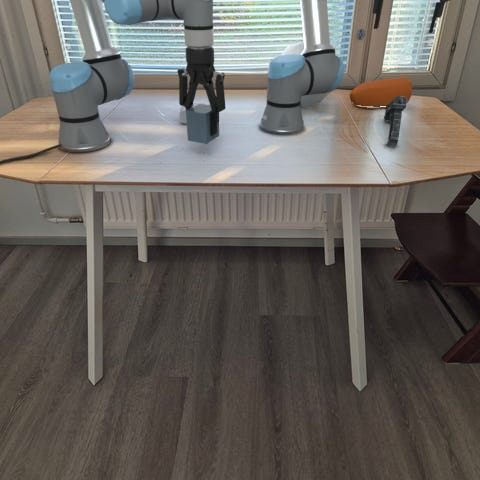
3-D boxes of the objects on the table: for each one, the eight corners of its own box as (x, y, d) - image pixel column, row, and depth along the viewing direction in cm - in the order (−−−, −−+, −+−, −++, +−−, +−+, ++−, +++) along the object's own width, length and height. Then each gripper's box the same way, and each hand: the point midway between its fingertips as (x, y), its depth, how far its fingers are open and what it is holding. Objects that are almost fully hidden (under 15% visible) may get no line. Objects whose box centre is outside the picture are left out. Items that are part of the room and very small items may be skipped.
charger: (207, 110, 158) (206, 123, 146) (183, 110, 158) (180, 123, 146) (206, 98, 156) (205, 110, 143) (182, 98, 155) (179, 110, 143)
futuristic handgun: (389, 146, 153) (397, 104, 149) (399, 145, 125) (409, 94, 122) (379, 144, 154) (386, 103, 150) (386, 144, 126) (395, 93, 122)
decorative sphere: (262, 73, 173) (275, 25, 150) (318, 71, 177) (338, 25, 154) (272, 121, 166) (286, 79, 143) (329, 118, 170) (353, 77, 147)
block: (219, 135, 122) (218, 106, 117) (206, 144, 117) (205, 113, 112) (201, 132, 125) (199, 103, 120) (187, 140, 119) (185, 110, 114)
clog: (353, 116, 162) (414, 107, 163) (355, 88, 156) (419, 80, 157) (344, 107, 172) (401, 99, 173) (345, 80, 165) (405, 72, 166)
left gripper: (239, 47, 106) (238, 133, 119) (176, 41, 113) (182, 123, 126) (225, 52, 100) (226, 142, 113) (160, 45, 107) (168, 130, 120)
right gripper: (485, -73, 91) (455, 32, 103) (373, -72, 100) (357, 25, 112) (486, -76, 86) (454, 36, 98) (366, -74, 94) (351, 28, 106)
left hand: (203, 132), depth 119 cm, fingers closed on block, 6 cm apart
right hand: (402, 30), depth 105 cm, fingers open, 13 cm apart
